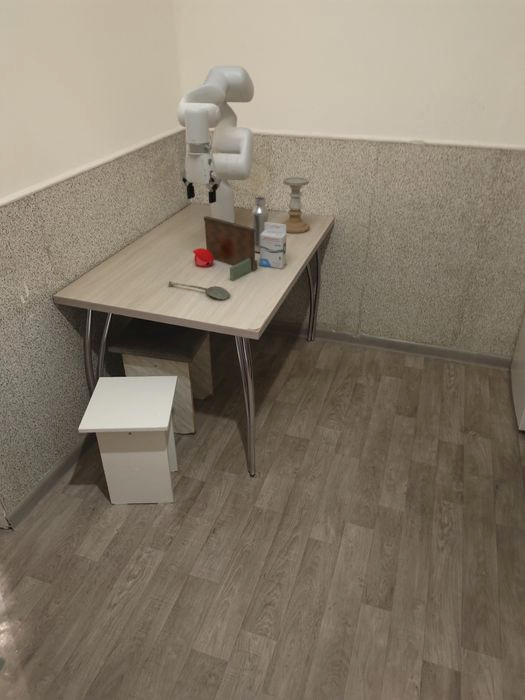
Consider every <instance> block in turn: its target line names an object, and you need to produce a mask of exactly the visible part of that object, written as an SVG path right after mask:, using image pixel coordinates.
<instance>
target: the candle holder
mask: <svg viewBox="0 0 525 700" xmlns="http://www.w3.org/2000/svg"><path fill="white" fill-rule="evenodd" d="M282 182H283V184H284V185H286V186H289V188H290V189H291V192H290V193H289V197H290V201H289V204H288V209H289V210H288V212H287V214H288V215H289V217H288V218H289V219H288V220H284V222H282V223H281V224H286V233H287V234H288V233H289V234H302V233H305V232H308V231H309V230H310V225H309V223H307V222H305V221H304V220H302V219H301V216H302V214H303V212H302V210H301V209H302V208H303V205H302V201H301V197H302V195H303V194H302V192H301V189H302V188H303V186H307V185H308V184H309V183H310V179H308V178H305V177H300V176H291V177H285V178H283V181H282Z"/></svg>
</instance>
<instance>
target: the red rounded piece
mask: <svg viewBox="0 0 525 700" xmlns="http://www.w3.org/2000/svg"><path fill="white" fill-rule="evenodd" d="M192 253H193V254H194V262H195V265H197V266H198V267H202V268H207V267H210V266H212V263H214V261H215V259H214V257H213V255H212V254H211V252H210V251H209V250H207V249H206V248H202V247H201V248H197V249H196V248H195V249H194V250H192Z"/></svg>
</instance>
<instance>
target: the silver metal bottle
mask: <svg viewBox="0 0 525 700" xmlns="http://www.w3.org/2000/svg"><path fill="white" fill-rule="evenodd" d="M265 204H266V198H265V197H263V196H262V197H261V196H258V197H255V198H254V206H253V208H252V210H251V211H250V212H251V213H250V215H251V221H252V222H251V223H252V228H254V229H255V253H256V252H257V253H260V234H261V233H262V232H263V231H264V230H265V229H264V223H265V222H269V221H268V220H269V210H268V208H267V206H266V205H265Z"/></svg>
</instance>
